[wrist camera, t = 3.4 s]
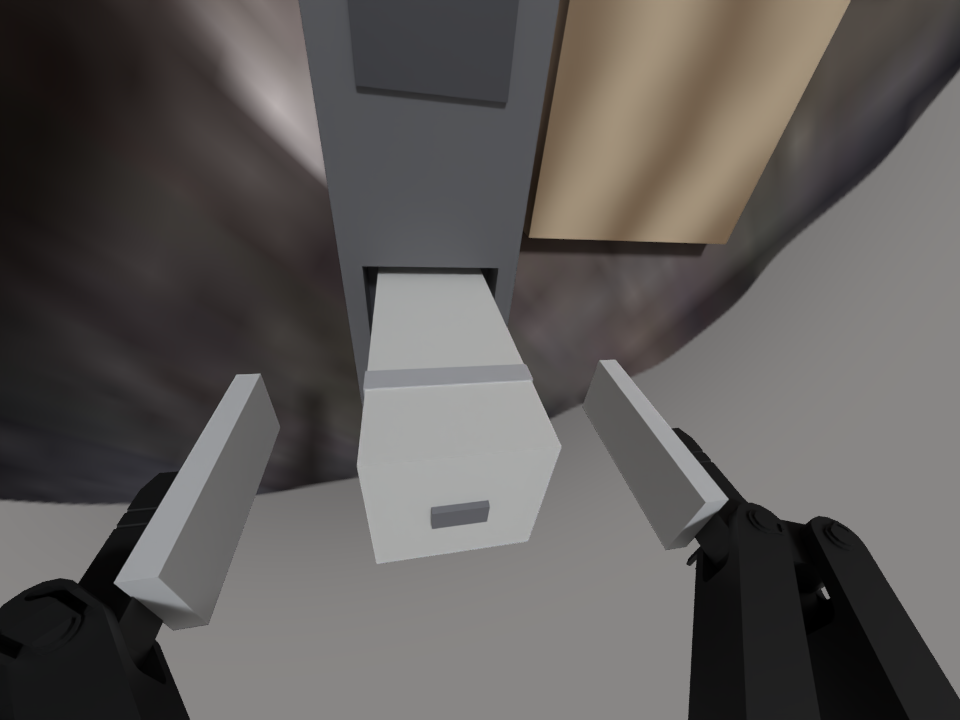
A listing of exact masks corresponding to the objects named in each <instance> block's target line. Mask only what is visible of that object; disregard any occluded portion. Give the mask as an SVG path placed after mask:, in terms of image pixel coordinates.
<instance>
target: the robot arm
mask: <svg viewBox="0 0 960 720" xmlns="http://www.w3.org/2000/svg"><path fill="white" fill-rule="evenodd" d="M582 407H583V409H584V411H585V412H586V414H587V416H588V418H589V419H590V421H591V423H592V424H593V426H594V428H595V430H596V431H597V433H598V435H599V436H600V438H601V440H602V442H603V443H604V445H605V447H606V448H607V450H608V452H609V454H610V455H611V457H612V459H613V460H614V462H615V464H616V466H617V467H618V469H619V471H620V473H621V474H622V476H623V478H624V479H625V481H626V483H627V485H628V486H629V488H630V490H631V491H632V493H633V495H634V496H635V498H636V500H637V501H638V503H639V505H640V507H641V509H642V510H643V512H644V514H645V515H646V517H647V519H648V520H649V522H650V524H651V526H652V527H653V529H654V531H655V533H656V534H657V536H658V538H659V539H660V541H661V543H662V545H663V546H664V548H665V550H670V549H676V548H682V547H686V546H687V545H688V544H689V543H690V542H691V541H692V540H693V539H694V538H696V540H697V541H698V543H699V544H700V547H699V548H698V549H697V550H696V551H695V552H694V554H692V555H691V557H690V558H689V559H688V561H687V565H689V566H690V565H691V564H693V562H695V560H697V562H696V568H695V569H696V580H695V599H694V620H693V638H692V657H691V676H690V695H689V715H688V720H960V699H959V697H958V696H957V694H956V692H955V691H954V689H953V687H952V686H951V684H950V683H949V681H948V679H947V678H946V676H945V674H944V673H943V671H942V670H941V668H940V667H939V665H938V663H937V661H936V660H935V658H934V656H933V655H932V653H931V652H930V650H929V648H928V647H927V645H926V644H925V642H924V640H923V639H922V637H921V635H920V634H919V632H918V630H917V629H916V627H915V626H914V624H913V622H912V621H911V619H910V618H909V616H908V614H907V613H906V611H905V609H904V608H903V606H902V604H901V603H900V601H899V600H898V598H897V597H896V595H895V593H894V592H893V590H892V588H891V587H890V585H889V583H888V582H887V580H886V578H885V577H884V575H883V573H882V572H881V570H880V569H879V567H878V565H877V564H876V562H875V560H874V559H873V557H872V556H871V554H870V552H869V551H868V549H867V547H866V546H865V544H864V543H863V542H862V541H861V540H860V538H859V537H858V536H857V535H856V534H855V533H854V532H852V531H851V530H850V529H849V528H847V527H846V526H844V525H842V524H841V523H839V522H838V521H835V520H833V519H830V518H828V517H821V516H818V517H815V518H813V519H811V520H810V521H809V522H808V523H807V524H800V523H795V522H790V521H785V520H780V519H779V518H777V516H775V515H774V514H773V513H772V512H771V511H769V510H767V509H766V508H764V507H762V506H760V505H757V504H754V503H748V502H747V501H746V500H745V499H744V498H743V497H742V496H741V495H740V494H739V492H738V491H737V490H736V489H735V488H734V487H733V485H732V484H731V483H730V482H729V481H728V479H727V478H726V477H725V476H724V475H723V474H722V472H721V471H720V470H719V469H718V468H717V467H716V465H715V464H714V463H713V462H711V460H710V458H709V457H708V456H707V455H706V454H705V453H703V452H702V449H701V448H700V447H699V445H697V443H696V442H695V441H694V440H693V438H691V437H690V436H689V435H687V434H686V433H684V432H683V431H682V430H681V429H679V428H673V429H671V428H670V426H669V425H668V424H667V423H666V422H665V420H664V419H663V418H662V417H661V415H660V414H659V413H658V412H657V411H656V409H655V408H654V407H653V405H652V404H651V403H650V402H649V401H648V399H647V398H646V397H645V396H644V394H643V393H642V392H641V391H640V389H639V388H638V387H637V386H636V385H635V383H634V382H633V381H632V380H631V378H630V377H629V376H628V375H627V373H626V372H625V371H624V370H623V369H622V367H621V366H620V365H619V364H618V362H617V361H616V360H599V362H598V365H597V368H596V370H595V373H594V376H593V379H592V382H591V384H590V387H589V390H588V393H587V395H586V398H585V401H584V404H583V406H582ZM279 429H280V425H279V423H278V420H277V417H276V414H275V412H274V409H273V406H272V404H271V401H270V398H269V395H268V393H267V390H266V387H265V384H264V382H263V379H262V376H261V374H242V375H236V376H235V378H234V380H233V381H232V383H231V385H230V387H229V388H228V390H227V392H226V393H225V395H224V397H223V398H222V400H221V402H220V404H219V405H218V407H217V409H216V410H215V412H214V414H213V415H212V417H211V419H210V420H209V422H208V424H207V426H206V427H205V429H204V431H203V432H202V434H201V436H200V437H199V439H198V441H197V442H196V444H195V446H194V448H193V449H192V451H191V453H190V454H189V456H188V458H187V459H186V461H185V463H184V464H183V466H182V468H181V470H180V471H179V472H167V473H159V474H158V475H157V476H156V477H154V478H153V479H152V480H151V481H150V482H149V483H148V484H147V485H145V486H144V487H143V488H142V489H141V490H140V491H139V492H138V494H137V495H136V497H135V499H134V500H133V502H132V503H131V505H130V506H129V508H128V509H127V510H128V511H127V513H125V514H124V515H123V517H122V518H121V520H120V521H119V523H118V524H117V528H116V529H114V530H113V532H112V533H111V535H110V536H109V538H108V539H107V541H106V542H105V544H104V545H103V547H102V548H101V550H100V551H99V553H98V554H97V556H96V558H95V559H94V560H93V562H92V563H91V565H90V566H89V568H88V569H87V571H86V573H85V574H84V576H83V577H82V579H81V580H80V582H79V583H78V584H77V583H76V582H74V581H73V580H68V579H61V578H59V579H55V580H50V581H45V582H42V583H40V584H38V585H36V586H33V587H31V588H29V589H27V590H24V591H23V592H21V593H20V594H18V595H17V596H15V597H14V598H12V599H11V600H10V601H8V602H7V603H5V604H4V605H3V606H2V607H1V608H0V720H190V718H189V716H188V714H187V711H186V708H185V706H184V704H183V701H182V699H181V696H180V694H179V691H178V689H177V686H176V684H175V682H174V679H173V677H172V674H171V672H170V669H169V667H168V665H167V662H166V660H165V657H164V655H163V652H162V650H161V647H160V645H159V643H158V642H157V641H156V640H155V638H156V636H157V634H158V632H159V629H160V627H161V625H162V623H164V624H166V625H167V626H168V627H169V628H171V629H172V630H179V629H185V628H191V627H197V626H203V625H208V624H209V621H210V618H211V616H212V613H213V610H214V608H215V605H216V602H217V599H218V597H219V594H220V591H221V588H222V585H223V583H224V580H225V577H226V575H227V572H228V569H229V566H230V563H231V561H232V558H233V555H234V552H235V550H236V547H237V544H238V541H239V539H240V536H241V533H242V531H243V528H244V525H245V523H246V520H247V517H248V514H249V511H250V509H251V506H252V503H253V501H254V498H255V495H256V492H257V490H258V487H259V484H260V481H261V479H262V476H263V473H264V470H265V468H266V465H267V462H268V459H269V457H270V454H271V451H272V448H273V446H274V443H275V440H276V438H277V435H278V432H279ZM823 587H825V588H826V590H827V592H828V594H829V596H830V599H828V600H827V599H826V598H825V596H824V594H823V593H822V590H821V588H823Z"/></svg>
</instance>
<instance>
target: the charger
mask: <svg viewBox="0 0 960 720" xmlns="http://www.w3.org/2000/svg"><path fill="white" fill-rule="evenodd" d="M532 382H533V378H532V376H531V374H530V372H529V369H528V367H527V365H526V364H523V361H522V359H521V357H520V355H519V353H518V351H517V348H516V346H515V344H514V342H513V340H512V337H511V335H510V333H509V331H508V329H507V327H506V324H505V322H504V320H503V318H502V316H501V314H500V311H499V309H498V307H497V305H496V303H495V300H494V298H493V296H492V294H491V292H490V290H489V287H488V285H487V283H486V281H485V279H484V277H483V274H482V272H481V270H480V268H455V267H382V266H379V269H378V278H377V287H376V296H375V305H374V314H373V323H372V333H371V342H370V351H369V360H368V369H367V371H365V378H364V386H363V391H364V406H363V415H362V424H361V433H360V442H359V451H358V461H357V469H358V475H359V479H360V485H361V490H362V494H363V499H364V504H365V510H366V515H367V520H368V525H369V530H370V535H371V540H372V545H373V550H374V555H375V560H376V564H382V563H388V562H395V561H401V560H408V559H415V558H421V557H427V556H434V555H441V554H448V553H454V552H461V551H467V550H474V549H480V548H487V547H494V546H500V545H507V544H514V543H520V542H527V541H528V540H529V537H530V534H531V532H532V529H533V525H534V523H535V519H536V517H537V515H538V512H539V509H540V506H541V503H542V501H543V498H544V495H545V492H546V489H547V486H548V484H549V481H550V478H551V475H552V472H553V469H554V466H555V464H556V461H557V458H558V455H559V452H560V450H561V447H562V446H561V444H560V442H559V440H558V438H557V436H556V433H555V431H554V429H553V427H552V425H551V422H550V420H549V418H548V416H547V414H546V412H545V409H544V407H543V405H542V403H541V401H540V398H539V396H538V394H537V392H536V390H535V388H534V385H533V383H532Z"/></svg>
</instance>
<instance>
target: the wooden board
mask: <svg viewBox="0 0 960 720" xmlns="http://www.w3.org/2000/svg"><path fill="white" fill-rule="evenodd" d="M850 1H851V0H560V1H559V8H558V14H557V20H556V26H555V33H554V39H553V45H552V51H551V58H550V64H549V70H548V76H547V83H546V89H545V95H544V101H543V108H542V114H541V120H540V126H539V132H538V139H537V145H536V151H535V157H534V164H533V170H532V176H531V182H530V189H529V195H528V201H527V207H526V214H525V220H524V226H523V232H524V233H525V234H526V235H527V236H528V237H529V238H551V239H582V240H613V241H644V242H675V243H706V244H726V242H727V240H728V238H729V236H730V235H731V233H732V231H733V229H734V227H735V225H736V223H737V221H738V219H739V217H740V215H741V213H742V211H743V209H744V207H745V205H746V203H747V201H748V199H749V198H750V196H751V194H752V192H753V190H754V188H755V186H756V184H757V182H758V180H759V178H760V176H761V174H762V172H763V170H764V168H765V166H766V164H767V162H768V161H769V159H770V157H771V155H772V153H773V151H774V149H775V147H776V145H777V143H778V141H779V139H780V137H781V135H782V133H783V131H784V129H785V127H786V126H787V124H788V122H789V120H790V118H791V116H792V114H793V112H794V110H795V108H796V106H797V104H798V102H799V100H800V98H801V96H802V94H803V92H804V90H805V89H806V87H807V85H808V83H809V81H810V79H811V77H812V75H813V73H814V71H815V69H816V67H817V65H818V63H819V61H820V59H821V57H822V55H823V53H824V52H825V50H826V48H827V46H828V44H829V42H830V40H831V38H832V36H833V34H834V32H835V30H836V28H837V26H838V24H839V22H840V20H841V18H842V16H843V15H844V13H845V11H846V9H847V7H848V5H849V3H850Z"/></svg>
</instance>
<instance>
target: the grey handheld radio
mask: <svg viewBox="0 0 960 720" xmlns="http://www.w3.org/2000/svg"><path fill="white" fill-rule="evenodd" d="M559 1H560V0H299V5H300V12H301V18H302V25H303V31H304V37H305V44H306V50H307V57H308V63H309V69H310V76H311V82H312V88H313V95H314V101H315V108H316V114H317V120H318V127H319V133H320V140H321V146H322V152H323V159H324V165H325V171H326V178H327V184H328V191H329V197H330V203H331V210H332V216H333V223H334V229H335V235H336V242H337V248H338V254H339V261H340V267H341V274H342V280H343V286H344V293H345V299H346V305H347V312H348V318H349V325H350V331H351V337H352V344H353V350H354V357H355V363H356V369H357V376H358V382H359V388H360V395H361V401H362V408H363V406H364V391H363V386H364V378H365V371H367V369H368V360H369V351H370V342H371V333H372V323H373V314H374V305H375V296H376V287H377V278H378V269H379V266H382V267H455V268H480V270H481V272H482V274H483V277H484V279H485V281H486V283H487V285H488V287H489V290H490V292H491V294H492V296H493V298H494V300H495V303H496V305H497V307H498V309H499V311H500V314H501V316H502V318H503V320H504V322H505V324H506V327H507V326H508V320H509V313H510V307H511V301H512V295H513V289H514V282H515V276H516V270H517V264H518V257H519V251H520V245H521V239H522V232H523V226H524V220H525V214H526V207H527V201H528V195H529V189H530V182H531V176H532V170H533V164H534V157H535V151H536V145H537V139H538V132H539V126H540V120H541V114H542V108H543V101H544V95H545V89H546V83H547V76H548V70H549V64H550V58H551V51H552V45H553V39H554V33H555V26H556V20H557V14H558V8H559Z"/></svg>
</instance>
